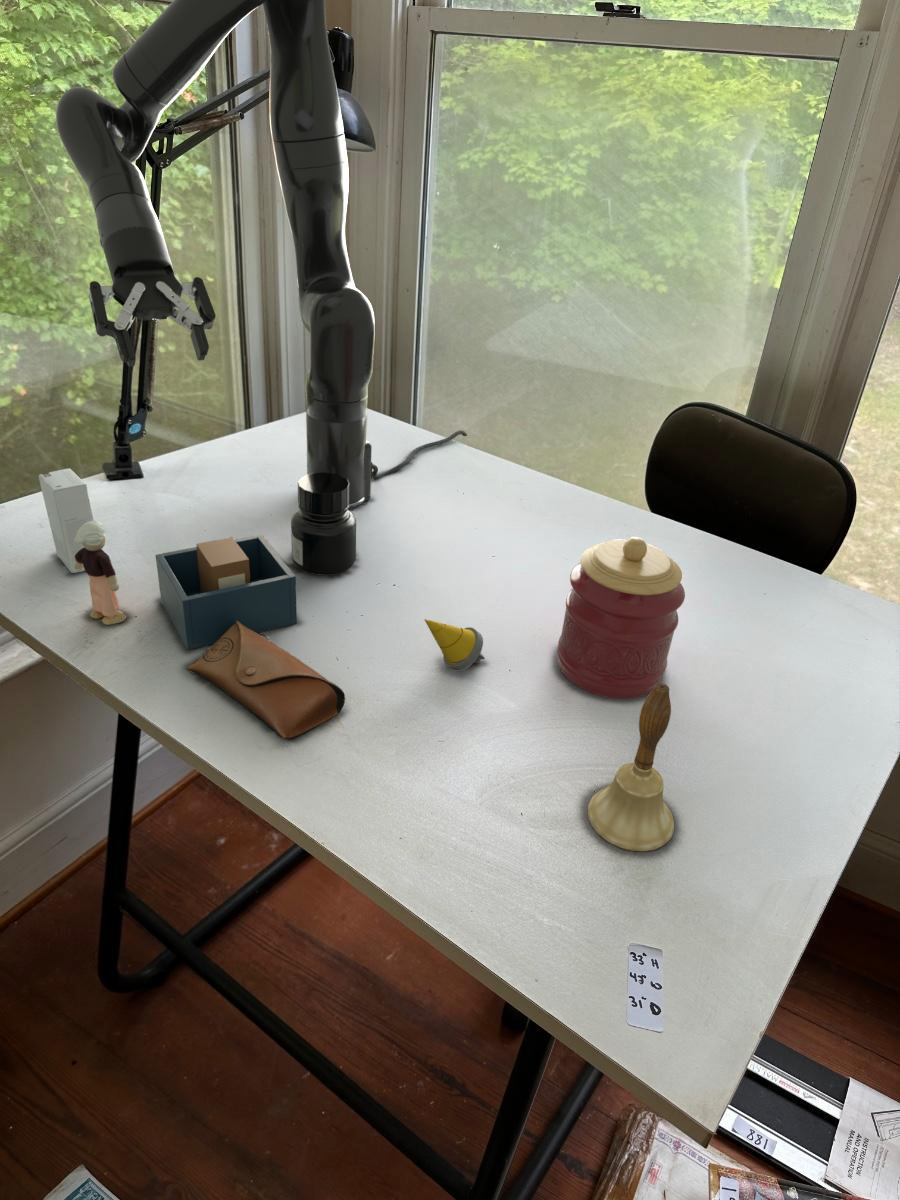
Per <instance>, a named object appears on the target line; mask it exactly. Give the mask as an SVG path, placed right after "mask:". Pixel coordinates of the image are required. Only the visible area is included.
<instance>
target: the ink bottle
mask: <svg viewBox="0 0 900 1200" xmlns="http://www.w3.org/2000/svg"><path fill="white" fill-rule="evenodd" d="M349 488H350V483H349V482H348V479H346V478H344V477H343V476H340V475H337V474H334V473H326V472H323V473H312V474H308V475H307V474H305V475H303V476H302V477H300V478H299V480H298V481H297V503H298V510H297V511H296V512H295V513H294V514H293V515H292V517H291V520H290V539H291V541H290V543H291V544H290V545H291V560H292V563H293V565H294V566H295V568H297V569H298V570H299V571H301V572H304V573H307V574H311V575H315V576H317V575H318V576H334V575H339V574H342V573H344V572H347V571H348V570H349V569H351V568H352V567H353V566H354V564H355V563H356V560H357V525H358V524H357V519H356V517H355V515H354V513H352V511H350V510H349V509H350V508H349Z"/></svg>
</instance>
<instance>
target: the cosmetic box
mask: <svg viewBox="0 0 900 1200" xmlns="http://www.w3.org/2000/svg"><path fill="white" fill-rule="evenodd" d="M38 480H39V485H40V488H41V493H42V497H43V498H42V499H43V501H44V506H45V509H46V513H47V518H48V522H49V527H50V531H51V534H52V535H51V536H52V539H53V543H54V548H55V552H56V556H57V557H58V558H59V559H60V561H61V562H62V563H63V564H64V565H65V567H66V568H67V569H68V571H69V572H70V573H71V574H76V573H82V572H85V569H84V567H83V568H82V569H77V568H76V567H75V563H76V562H75V561H76V559H75V554H76V553H77V552H78V551H79V550H81V549H82V548H84V546H83V544H78V543H76V542H75V541H74V540H75V537H76V535H77V532H78V530H79V529H80V527H81V526H82V525H84V524H85V523H87V522H90V521H94V517H93V511H92V506H91V502H90V497H89V491H88V487H87V483H86V482H85V481H83V479H81V477H79V475H78V474H76V473H75V472H74V471H73V469H71V467H69V468H63V469H59V470H55V471H54V470H53V471H49V472H44V473H40V474H38Z"/></svg>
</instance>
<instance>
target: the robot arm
mask: <svg viewBox="0 0 900 1200" xmlns="http://www.w3.org/2000/svg"><path fill="white" fill-rule="evenodd" d="M260 6H262V8H263V12H264V17H265V23H266V27H267V34H268V38H269V39H268V40H269V50H270V64H269V65H270V68H269V69H270V71H269V125H270V133H271V139H272V147H273V152H274V158H275V164H276V170H277V174H278V178H279V184H280V189H281V193H282V198H283V202H284V207H285V211H286V216H287V219H288V223H289V227H290V231H291V235H292V240H293V246H294V253H295V266H296V278H297V291H298V309H299V314H300V318H301V321H302V324H303V326H304V328H305V329H306V331H308V333H309V334H310V367H309V371H307V373H306V375H305V429H306V437H305V438H306V475H308V474H312V473H323V472H326V473H334V474H337V475H340V476H343V477H344V478H346V479H348V482H349V483H350V488H349V508H348V509H353V508H355V507H356V508H357V507H359V506H360V505H362V504H363V503H364V502H366V501H370V500H371V483H372V479H375V480H377V479H380V478H381V479H382V478H383V477H386V476H389V475H392V474H394V473H396V472H398V471H399V470H401V469H403V468H404V467H406V466H407V465H408V464H409V463H410V462H411V461H412V460H413V458H414V456H416V454H417V453H419V452H421V451H423V450H425V449H429V448H432V447H436V446H440V445H443V444H446V443H448V442H451V441H452V440H454V439H455V438H456V437H458V436H459V435H461V436H463V437H467V436H468V433H467V432H466V431H465V430H462V429H459V430H456V431H454V432H453V433H451V434H450V435H449V436H447V437H445V438H442V439H439V440H436V441H433V442H429V443H425V444H422V445H419V446H418V447H415V448H414V449H413V450H412V451H411V452H410V453H409V454H408V456H407V457H406V459H404V460H403V461H402V462H401V463H398V464H397V465H396V466H394V467H393V468H390V469H388V470H387V471H385V472H382V473H378V472H379V468H378V466H377V465H376V464H373V461H372V451H373V450H372V449H373V447H372V443H371V442H370V441H368V440H367V439H368V437H367V436H368V399H369V398H368V396H369V395H368V394H369V383H370V381H371V380H372V379H371V378H372V375H373V369H374V354H375V353H374V352H375V335H376V333H375V332H376V330H375V329H376V327H375V325H376V324H375V313H374V309H373V306H372V304H371V302H370V301H369V299H368V297H367V296H366V295H365V294H364V293H363V292H362V291H360V290H359V289H358V288H356V284H355V281H354V279H353V274H352V270H351V266H350V259H349V256H348V255H349V254H348V250H347V243H346V218H347V209H348V199H349V184H350V177H349V175H350V173H349V161H348V154H347V144H346V137H345V133H344V132H345V130H344V122H343V118H342V110H341V105H340V99H339V93H338V87H337V81H336V77H335V71H334V65H333V60H332V55H331V51H330V45H329V37H328V28H327V17H326V16H327V15H326V0H172V1H171V3H170V4H169V5H168V6H167V7H166V8H165V9H164V10H163V11H162V12H161V13H160V14H159V15H158V16H157V18H156V19H155V20H154V21H153V22H151V24H150V25H149V26H148V27H147V28H145V30H144V31H143V32H142V34H140V35H139V37H138V38H137V39H136V40H135V41H134V42H133V43H132V44H131V45H130V46H129V48H128V49H126V51H125V52H123V54H122V55H121V56H120V57H119V58H118V60H117V61H116V63H114V65H113V68H112V73H111V74H112V80H113V83H114V85H115V87H116V89H117V90H118V92H119V93H120V95H121V96H122V97H123V99H125V100H124V102H123V103H122V104H121V105H120V106H118V105H117V104H115V103H114V102H111V101H110V100H109V99H107V98H105V97H104V96H102V95H101V94H100V93H98V92H96V91H94V90H93V89H91V88H87V87H84V86H74V87H70V88H68V89H67V90H65V91H64V92H63V93H62V95H60V97H59V100H58V102H57V105H56V110H55V121H56V122H55V123H56V128H57V132H58V135H59V137H60V138H59V139H60V140H61V142H62V145H63V147H64V149H65V151H66V153H67V154H68V157H69V158H70V160H71V161H72V163H73V164H74V167H75V169H76V170H77V173H78V174H79V175H80V177H81V179H82V180H83V182H84V184H85V185H86V187H87V189H88V194H89V197H90V200H91V204H92V207H93V211H94V214H95V219H96V226H97V231H98V236H99V242H100V246H101V248H102V249H103V253H104V257H105V260H106V263H107V267H108V270H109V271H108V272H109V274H110V277H111V282H112V285H101V284H100V282H98V281H95V280H93V281H90V283H89V289H88V290H89V291H88V299H89V303H90V309H91V314H92V318H93V323H94V328H95V332H96V334H97V335H98V336H99V337H107V336H108V337H111V338H112V339H114V342H115V345H116V348H117V351H118V354H119V355H118V356H119V358H120V360H121V361H122V363H126V364H127V366H128V367H135V366H136V361H137V360H136V358H137V357H136V354H135V351H134V346H133V343H132V340H131V336H130V332H129V329H130V328H131V326H132V325H133V323H134V321H135V319H136V318H137V319H139V320H140V321H141V322H145V321H150V320H154V319H155V320H167V319H168V318H170V319H172V320H173V322H175V323H176V324H177V325H181V326H183V327H184V328H185V329H187V330H188V331H189V332H190V335H189V336H190V339H191V342H192V346H193V350H194V353H195V357H196V359H197V361H204V360H205V359H206V356H207V355H208V353H209V349H210V345H209V341H208V338H207V335H206V332H205V330H211V329H212V328H213V326H214V323H215V319H216V316H217V315H216V312H215V309H214V307H213V304H212V301H211V299H210V296H209V293H208V290H207V288H206V285H205V282H204V280H203V279H202V278H201V277H199V276H196V277H194V278H193V281H185V282H181V281H180V280H179V279H178V278H177V276H176V274H175V270H174V268H173V264H172V263H173V262H172V260H171V258H170V257H171V256H170V253H169V251H168V247H167V242H166V240H165V236H164V233H163V231H162V227H161V224H160V221H159V219H158V216H157V214H156V212H155V209H154V207H153V204H152V201H151V196H150V194H149V190H148V187H147V183H146V180H145V178H144V175H143V173H142V172H141V170H140V169H139V167H138V166H137V165H136V164H135V163H134V162H136V161H137V160H138V159H139V158H140V157H141V155H142V154H143V152H144V151H145V148H146V147H147V145H148V143H149V140H150V138H151V136H152V134H153V132H154V130H155V129H156V126H157V125H158V122H159V121H160V119H161V116H162V115H163V113H164V111H165V110H166V109H167V108H168V107H169V106H170V105H171V104H172V103H173V102H174V101H175V100H176V99H177V98H178V97H179V96H180V95H181V94H182V93H183V92H184V91H185V90H186V89H187V88H188V87H189V86H190V85H191V84H192V83H193V81H194V80H195V79H196V78H197V77H198V75H199V74H200V73H202V71H203V69H204V68H205V66H206V65H207V64H208V62H209V61H210V59H211V58H212V56H213V55H214V53H215V52H216V51H217V50H218V48H219V46H220V45H221V44H222V42H223V41H224V40H225V38H227V36H228V35H229V34H230V33H231V31H232V30H233V29H235V27H236V26H237V25H239V24H240V23H241V22H242V21H243V20H244V19H245V18H246V17H247V16H248V15H249V14H250V13H252V12H253V11H254V10H256V9H257V8H259V7H260ZM182 294H184V295H186V296H187V297H188V298H189V300H190V301H191V302H194V305H195V307H196V310H197V313H196V312H195V311H194V309H192V308H191V306H190V305H189V303H188V302H187V301H186V300H184V299H183V298H182ZM110 298H113V299H114V300H115V301H116V302H117V304H119V305H120V306H122V307H121V310H120V312H119V314H118V316H117V318H116V320H115V321H113V320H109V319H108V315H107V310H106V306H107V305H108V304H109V299H110Z"/></svg>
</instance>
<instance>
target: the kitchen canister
mask: <svg viewBox="0 0 900 1200" xmlns="http://www.w3.org/2000/svg"><path fill="white" fill-rule="evenodd" d="M580 556H581V557H580V562H579V563H577V564H576V565H575V566H574V567H573V568H572V569H571V571H570V575H569V582H570V586H571V587H572V588H571V590H570V591H569V592H568V593H567V595H566V599H565V611H564V617H563V622H562V623H563V624H562V629H561V635H560V636H559V638H558V644H557V647H556V650H557V651H556V653H557V663H558V666H559V669H560V671H561V673H562V674H563V675H564V676H565V677H566V678H567V679H568V680H569V682H571V683H572V684H574V685H575V686H577V687H578V688H580V689H582V690H584V691H585V692H588V693H591V694H594V695H598V696H600V697H604V698H611V699H623V700H624V699H634V698H639V697H643V696H645V695H649V694H650V692H651V691H652V689H653V688H654V685H655V684H656V683H661V680H662V679H663V678H664V676H665V674H666V669H667V666H668V656H669V653H670V649H671V645H672V641H673V637H674V633H675V631H676V629H677V627H678V624H679V614H678V611H677V610H679V609H680V607H682V606H683V604H684V602H685V599H686V591H685V588H684V586H683V584H682V580H683V573H682V572H683V571H682V568H681V567H680V566H679V564H678V563H677V562H676V561H675V560H674V559H672V558H671V557H670V556H669V555H667V553H665V552H664V550H662V549H660V548H658V547H656V546H655V545H652V544H650V543H646V542H645V540H644V539H642V538H641V537H638V536H631V537H629V538H628V539H625V538H624V539H618V538H617V539H612V540H606V541H604V542H601V543H598V544H594V545H592V546H589V547H588V548H586V549H585V550H584V551H583V553H582V555H580Z"/></svg>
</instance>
